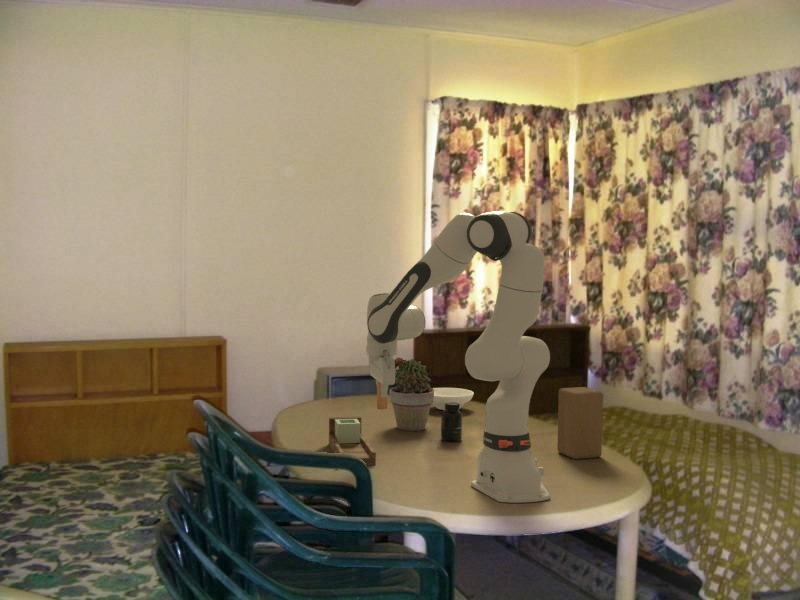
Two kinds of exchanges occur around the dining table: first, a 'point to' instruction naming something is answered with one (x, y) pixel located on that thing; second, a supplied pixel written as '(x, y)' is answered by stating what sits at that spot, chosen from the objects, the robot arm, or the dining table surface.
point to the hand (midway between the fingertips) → (382, 396)
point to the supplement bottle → (451, 423)
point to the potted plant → (411, 395)
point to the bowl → (451, 396)
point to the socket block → (347, 430)
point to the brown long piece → (351, 444)
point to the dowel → (380, 398)
